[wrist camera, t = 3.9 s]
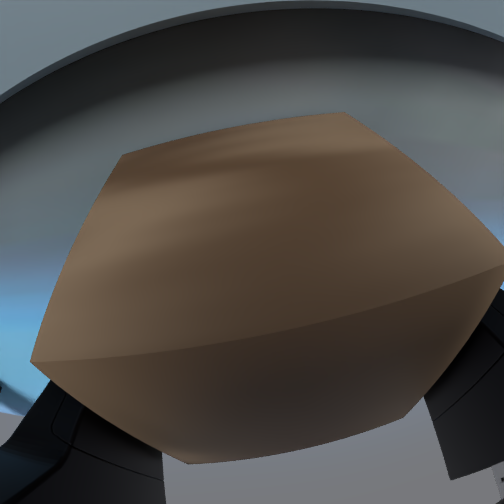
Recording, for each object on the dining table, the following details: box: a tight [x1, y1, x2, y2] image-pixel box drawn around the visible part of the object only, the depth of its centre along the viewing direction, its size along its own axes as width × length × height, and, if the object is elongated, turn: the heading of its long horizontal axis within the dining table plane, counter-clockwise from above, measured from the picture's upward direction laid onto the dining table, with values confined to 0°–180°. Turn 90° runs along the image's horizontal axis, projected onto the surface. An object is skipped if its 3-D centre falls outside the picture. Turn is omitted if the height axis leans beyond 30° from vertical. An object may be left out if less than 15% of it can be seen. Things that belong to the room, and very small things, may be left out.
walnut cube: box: [30, 112, 504, 464], centre depth 7 cm, size 6×6×6 cm
